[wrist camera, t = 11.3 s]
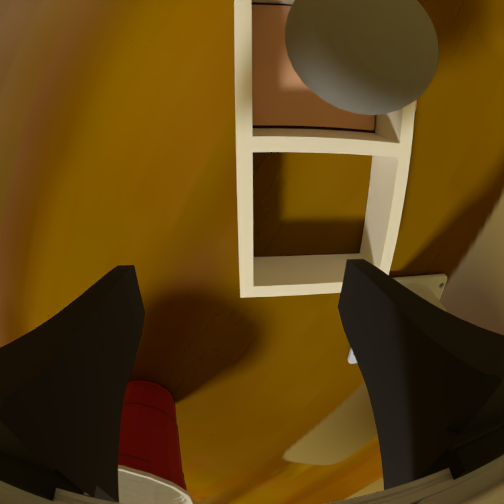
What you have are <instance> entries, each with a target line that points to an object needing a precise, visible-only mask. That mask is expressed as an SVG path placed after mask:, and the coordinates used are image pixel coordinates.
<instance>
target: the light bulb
mask: <svg viewBox="0 0 504 504" xmlns="http://www.w3.org/2000/svg"><path fill="white" fill-rule="evenodd" d="M285 45H286V49H287V54H288V57H289V59H290V62H291V64H292V66H293V69H294V70H295V72H296V73H297V75H298V76H299V78H300V79H301V81H302V82H303V83H304V84H305V85H306V86H307V87H308V88H309V89H310V90H311V91H312V92H313V93H314V94H316V95H317V96H319V97H320V98H321V99H323V100H324V101H325V102H327V103H329V104H331V105H333V106H335V107H337V108H339V109H343V110H346V111H349V112H353V113H356V114H365V115H379V114H387V113H390V112H393V111H397V110H400V109H402V108H404V107H405V106H407V105H409V104H411V103H412V102H414V101H415V100H416V99H417V98H418V97H420V96H421V95H422V94H423V93H424V91H425V90H426V89H427V87H428V86H429V84H430V83H431V81H432V79H433V77H434V74H435V72H436V69H437V63H438V58H439V44H438V39H437V34H436V31H435V28H434V25H433V23H432V21H431V19H430V17H429V15H428V14H427V12H426V10H425V9H424V8H423V7H422V5H421V4H420V3H419V2H418V1H417V0H295V1H294V2H293V4H292V6H291V8H290V11H289V13H288V16H287V21H286V25H285Z"/></svg>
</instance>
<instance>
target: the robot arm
mask: <svg viewBox="0 0 504 504" xmlns="http://www.w3.org/2000/svg"><path fill="white" fill-rule="evenodd" d="M446 282H447V276H446V275H445V274H434V275H421V276H409V277H395V278H392V277H390V276H389V275H387V274H386V273H385V272H383V271H382V270H380V269H379V268H377V267H376V266H374V265H373V264H371V263H369V262H368V261H366V260H364V259H347V261H346V267H345V272H344V278H343V283H342V289H341V294H340V299H339V304H338V309H339V313H340V317H341V321H342V324H343V328H344V331H345V334H346V336H347V339H348V341H349V344H350V346H351V349H350V352H349V356H348V362H349V363H351V364H353V363H358V365H359V368H360V370H361V373H362V375H363V378H364V380H365V383H366V386H367V389H368V393H369V397H370V401H371V405H372V408H373V413H374V418H375V423H376V428H377V433H378V439H379V445H380V452H381V459H382V468H383V479H384V490H383V491H379V492H375V493H372V494H368V495H364V496H359V497H355V498H351V499H346V500H341V501H336V502H331V503H325V504H504V335H500V334H498V333H495V332H492V331H488V330H486V329H483V328H481V327H478V326H476V325H474V324H471V323H469V322H467V321H464V320H462V319H460V318H458V317H455V316H454V315H452V314H450V313H448V311H447V310H446V309H445V308H444V306H443V305H442V303H441V302H440V298H441V296H442V293H443V290H444V287H445V285H446ZM144 316H145V311H144V307H143V303H142V298H141V294H140V290H139V286H138V281H137V277H136V272H135V267H134V265H127V266H117V267H115V268H114V269H112V270H111V271H110V272H108V273H107V274H106V275H105V276H103V277H102V278H101V279H100V280H99V281H97V282H96V283H95V284H94V285H93V286H91V287H90V288H89V289H88V290H87V291H85V292H84V293H83V294H82V295H81V296H79V297H78V298H77V299H76V300H74V301H73V302H72V303H70V304H69V305H68V306H67V307H65V308H64V309H63V310H62V311H60V312H59V313H58V314H56V315H55V316H53V317H52V318H51V319H49V320H48V321H46V322H45V323H43V324H42V325H40V326H39V327H37V328H36V329H34V330H32V331H31V332H29V333H27V334H25V335H23V336H22V337H20V338H18V339H16V340H15V341H13V342H11V343H9V344H7V345H5V346H3V347H1V348H0V504H122V503H119V488H118V453H119V437H120V425H121V416H122V409H123V401H124V396H125V392H126V387H127V384H128V380H129V377H130V373H131V370H132V366H133V363H134V359H135V356H136V353H137V349H138V346H139V342H140V339H141V334H142V328H143V322H144Z"/></svg>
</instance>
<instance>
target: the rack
mask: <svg viewBox="0 0 504 504" xmlns="http://www.w3.org/2000/svg"><path fill="white" fill-rule="evenodd" d="M294 1H295V0H234V50H235V122H236V171H237V211H238V246H239V275H240V298H243V297H268V296H289V295H308V294H325V293H340V292H341V289H342V283H343V278H344V272H345V267H346V261H347V259H364V260H366V261H368V262H369V263H371V264H373V265H374V266H376V267H377V268H379V269H380V270H382V271H383V272H385V273H386V274H387V275H389V271H390V267H391V263H392V259H393V254H394V250H395V245H396V240H397V235H398V230H399V225H400V220H401V215H402V209H403V203H404V197H405V191H406V185H407V178H408V171H409V163H410V155H411V146H412V137H413V126H414V114H415V110H416V104H417V99H416V100H415V101H414V102H412V103H411V104H409V105H407V106H405V107H404V108H402V109H400V110H397V111H393V112H390V113H387V114H379V115H376V119H375V115H365V114H356V113H353V112H349V111H346V110H343V109H339V108H337V107H335V106H333V105H331V104H329V103H327V102H325V101H324V100H323V99H321V98H320V97H319V96H317V95H316V94H314V93H313V92H312V91H311V90H310V89H309V88H308V87H307V86H306V85H305V84H304V83H303V82H302V81H301V79H300V78H299V76H298V75H297V73H296V72H295V70H294V69H293V66H292V64H291V62H290V59H289V57H288V54H287V49H286V45H285V25H286V21H287V16H288V13H289V11H290V8H291V6H281V5H252V3H272V4H290V5H292V4H293V2H294ZM374 121H375V133H368V132H356V131H342V130H325V129H301V128H252V123H253V125H286V126H317V127H336V128H350V129H362V130H373V131H374ZM253 152H315V153H341V154H360V155H373V157H372V167H371V176H370V185H369V193H368V201H367V208H366V215H365V222H364V229H363V235H362V242H361V248H360V253H357V254H330V255H302V256H273V257H253Z"/></svg>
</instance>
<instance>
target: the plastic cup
mask: <svg viewBox="0 0 504 504" xmlns="http://www.w3.org/2000/svg"><path fill="white" fill-rule="evenodd" d="M118 488H119V503H122V504H193V503H192V499H191V497H190V495H189V493H188V492H187V490H186V484H185V481H184V474H183V472H182V463H181V454H180V445H179V435H178V426H177V423H176V409H175V403H174V399H173V396H172V394H171V393H170V392H169V391H168V390H167V389H166V388H164V387H162V386H160V385H159V384H157V383H153V382H150V381H145V380H134V381H129V382H128V384H127V387H126V392H125V396H124V401H123V409H122V416H121V425H120V437H119V453H118Z"/></svg>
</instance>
